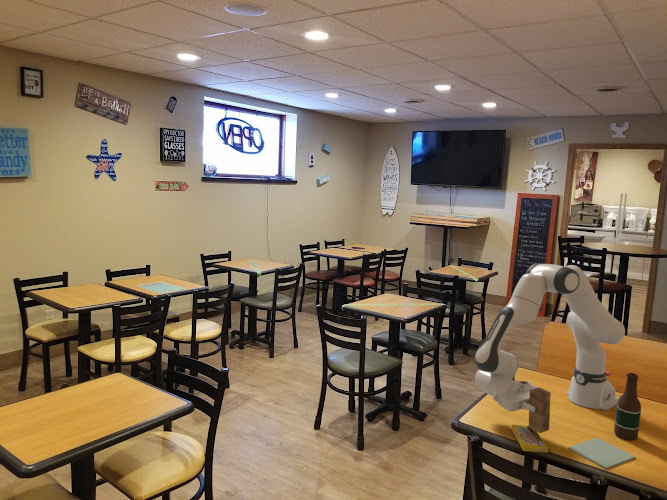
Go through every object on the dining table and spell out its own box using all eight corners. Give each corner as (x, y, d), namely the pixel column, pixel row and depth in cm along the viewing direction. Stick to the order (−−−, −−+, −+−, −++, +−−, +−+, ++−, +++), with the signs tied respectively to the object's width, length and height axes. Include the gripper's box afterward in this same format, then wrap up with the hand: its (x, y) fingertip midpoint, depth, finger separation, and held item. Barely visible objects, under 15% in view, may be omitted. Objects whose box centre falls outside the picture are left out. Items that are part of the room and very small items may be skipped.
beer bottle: (609, 431, 192) (616, 370, 188) (628, 430, 192) (635, 370, 189) (622, 441, 184) (629, 378, 181) (642, 441, 185) (650, 378, 181)
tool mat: (597, 439, 185) (597, 437, 185) (635, 458, 173) (635, 456, 173) (568, 448, 178) (568, 447, 178) (605, 469, 165) (605, 467, 165)
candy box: (548, 447, 174) (523, 446, 174) (548, 453, 174) (523, 452, 174) (533, 424, 190) (510, 424, 190) (533, 430, 190) (510, 429, 190)
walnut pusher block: (537, 423, 183) (538, 387, 180) (549, 429, 178) (550, 392, 176) (528, 426, 181) (529, 390, 178) (540, 433, 176) (541, 395, 174)
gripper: (491, 389, 184) (521, 404, 172) (530, 380, 194) (561, 394, 182) (489, 405, 185) (519, 422, 173) (529, 396, 195) (560, 411, 182)
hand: (541, 408), depth 177 cm, fingers closed on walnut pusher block, 5 cm apart
